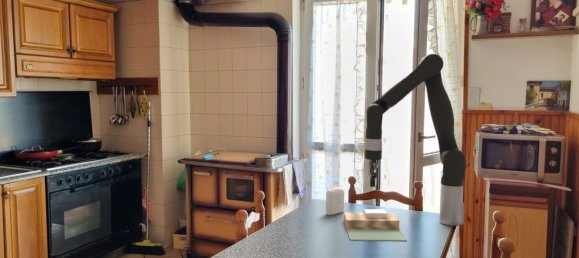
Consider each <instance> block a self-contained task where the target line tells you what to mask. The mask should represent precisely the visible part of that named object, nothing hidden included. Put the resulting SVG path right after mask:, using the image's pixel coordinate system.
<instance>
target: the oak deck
mask: <svg viewBox="0 0 579 258" xmlns="http://www.w3.org/2000/svg"><path fill="white" fill-rule="evenodd" d="M386 213H387V218H366V217H365V215H364V211H363V212H362V211H361V212H356V211H354V212H349V211H348V212H347V211H346V212H345V211H344V212H343V223H344V225H345V229H346V230H347V229H396V230H400V219H399V218H398V217H397V215H396V214H395V213H394V212H386Z"/></svg>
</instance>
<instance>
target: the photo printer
mask: <svg viewBox="0 0 579 258" xmlns="http://www.w3.org/2000/svg"><path fill="white" fill-rule="evenodd" d="M325 195H326V196H325V197H326V198H325V214H327V215H328V216H333V215H337V214H340V213H344V212H345V189H344V188H342V187H339V186H335V187H334V186H333V187H331V188H330V189H328V190H327V191H326V193H325Z"/></svg>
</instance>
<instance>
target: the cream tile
mask: <svg viewBox="0 0 579 258" xmlns="http://www.w3.org/2000/svg"><path fill="white" fill-rule="evenodd" d="M363 212H364V215H365V217H366V218H387V213H388V212H387V211H386V209H377V208H376V209H375V208H373V209H371V208H370V209H369V208H368V209H366V208H364V209H363Z"/></svg>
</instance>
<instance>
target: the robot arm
mask: <svg viewBox="0 0 579 258" xmlns="http://www.w3.org/2000/svg"><path fill="white" fill-rule="evenodd" d="M443 67H444V59H443V57H442V56H440V55H439V54H437V53H429V54H426V55H425V56H423V57H422V58H421V59H420V61H419V64H418V65H417V66H416V68H414V69H413V71H411V72H410V73H409V74H408V75H407V76H405V77H404V78H402V79H401V80H400V81H398V82H396V83H395V84H394V85H393V86H392V87H390V88H389V89H388V90H387V91H385V92H384V93H383V95H381V96H380V97H379V98H377V99H376V100H375V101H373V102H372V103H371V104H370V105H369V106H367V108H366V113H365V114H366V127H365V128H366V129H365V141H364V142H365V143H364V159H365V160H367V161H369V162H367V166H368V169H367V170H368V176H369V186H370V188H375V187H376V179H377V178H378V172H379V164H378V161H380V160H382V157H383V155H382V154H383V141H382V140H383V139H382V138H383V129H382V125H383V118H384V116H383V115H385V113H386V112H388V111H389V110H390V109H391V108H393V107H395V106H396V105H397V104H399V103H400V102H402V100H404V98H406V97H407V96H408V95H409V94H410V93H412V91H414V89H416V88H417V87H418V86H420V85H421V84H422V83H423V82H424V86H425V88H426V89H425V90H426V94H427V95H426V96H427V101H428V108H429V113H430V116H431V120H432V121H431V122H432V125H433V128H434V132H435V135H436V138H437V143H438V151H439V159H440V162H441V164H442V176H441V178H440V192H439V193H440V197H439V223H440V224H442V225H446V226H463V225H464V221H465V220H464V217H465V214H464V213H465V203H464V202H463V198H464V197H463V195H464V181H465V176H466V163H467V162H466V156H465V154H464V153H463V152H462V151H461V150H460V149H459V146H458V144H457V141H456V140H457V139H456V137H455V116H454V114H455V113H454V111H453V106H452V102H451V99H450V97H449V95H448V92H447V90H446V88H445V85H444V83H443V78H442V70H443Z"/></svg>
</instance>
